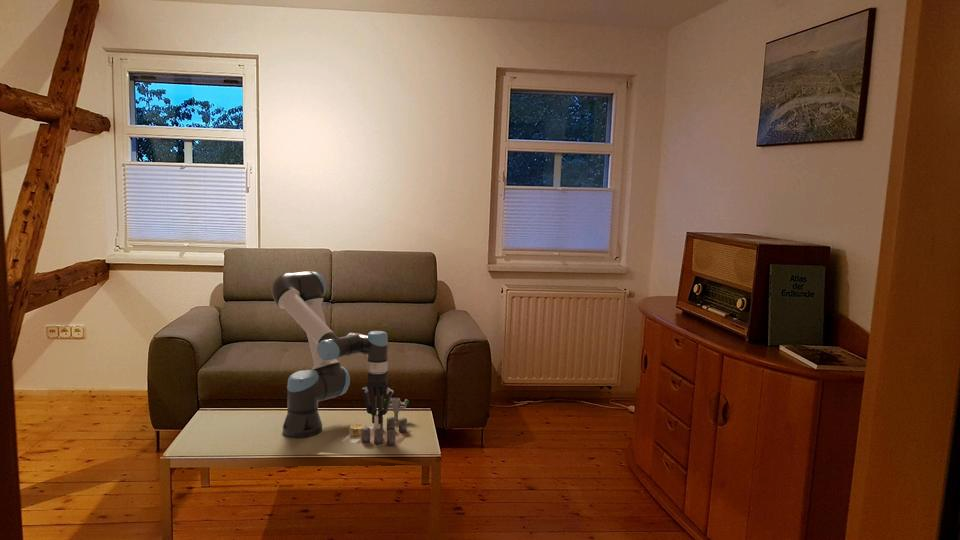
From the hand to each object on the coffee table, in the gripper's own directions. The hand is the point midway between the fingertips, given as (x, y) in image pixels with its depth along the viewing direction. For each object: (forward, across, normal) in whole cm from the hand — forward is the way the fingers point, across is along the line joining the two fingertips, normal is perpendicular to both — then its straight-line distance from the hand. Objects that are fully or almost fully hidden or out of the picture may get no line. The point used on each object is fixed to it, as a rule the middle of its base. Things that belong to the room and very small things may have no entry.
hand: (377, 431), depth 236 cm
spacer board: (+3, 0, 0) cm, 3 cm away
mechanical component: (+3, +1, +20) cm, 20 cm away
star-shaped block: (+2, -8, 0) cm, 8 cm away
